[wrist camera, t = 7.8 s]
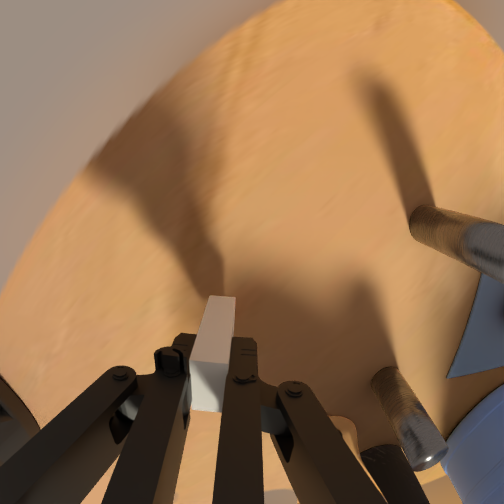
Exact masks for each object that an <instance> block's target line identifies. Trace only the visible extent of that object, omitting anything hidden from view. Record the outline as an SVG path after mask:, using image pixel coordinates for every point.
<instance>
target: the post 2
mask: <svg viewBox="0 0 504 504" xmlns="http://www.w3.org/2000/svg"><path fill="white" fill-rule="evenodd" d="M410 232H411V234H412V236H413V238H414V239H415V240H416V241H418V242H420V243H422V244H424V245H427V246H429V247H431V248H433V249H435V250H437V251H439V252H441V253H443V254H445V255H447V256H450V257H452V258H454V259H456V260H458V261H460V262H462V263H464V264H466V265H468V266H470V267H471V268H473V269H475V270H477V271H479V272H481V273H483V274H485V275H487V276H489V277H491V278H492V279H494V280H496V281H498V282H500V283H502V284H504V225H502V224H498V223H495V222H492V221H488V220H484V219H481V218H477V217H473V216H470V215H466V214H462V213H458V212H454V211H450V210H446V209H442V208H438V207H434V206H429V205H422V206H420V207H418V208H417V209H416V210H415V211H414V212H413V214H412V216H411V219H410Z"/></svg>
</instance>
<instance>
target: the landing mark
mask: <svg viewBox="0 0 504 504" xmlns="http://www.w3.org/2000/svg"><path fill="white" fill-rule="evenodd" d="M502 366H504V284H502V283H500V282H498V281H496V280H494V279H492V278H491V277H489V276H487V275H485V274H483V273H481V277H480V281H479V285H478V289H477V293H476V297H475V300H474V303H473V307H472V310H471V313H470V317H469V320H468V323H467V326H466V329H465V332H464V334H463V337H462V340H461V343H460V345H459V348H458V351H457V353H456V356H455V358H454V361H453V363H452V366H451V368H450V370H449V373H448V375H447V377H446V378H447V379H448V378H454V377H459V376H464V375H468V374H473V373H477V372H482V371H486V370H490V369H494V368H498V367H502Z"/></svg>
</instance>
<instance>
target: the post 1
mask: <svg viewBox="0 0 504 504" xmlns="http://www.w3.org/2000/svg"><path fill="white" fill-rule="evenodd" d="M371 387H372V389H373V391H374V393H375V395H376V397H377V398H378V400H379V402H380V404H381V406H382V408H383V410H384V412H385V414H386V416H387V418H388V420H389V422H390V424H391V426H392V428H393V430H394V432H395V434H396V436H397V438H398V440H399V442H400V445H401V447H402V449H403V451H404V453H405V455H406V457H407V459H408V461H409V463H410V465H411V468H412V470H413V471H416V472H418V471H423V470H426V469H428V468H430V467H432V466H434V465H435V464H436V463H438V462H439V461H440V460H441V459H443V458H444V456H445V455H446V454H447V452H448V450H449V447H448V445H447V444H446V442H445V440H444V439H443V437H442V435H441V434H440V432H439V431H438V429H437V428H436V426H435V424H434V423H433V421H432V420H431V418H430V417H429V415H428V413H427V412H426V410H425V409H424V407H423V406H422V404H421V403H420V401H419V400H418V398H417V397H416V395H415V394H414V392H413V391H412V389H411V388H410V386H409V385H408V383H407V382H406V380H405V379H404V377H403V376H402V374H401V373H400V371H399V370H398V369H397V368H395V367H387V368H384V369H382V370H380V371H379V372H378V373H377V374H376V375H375V376H374V377H373V379H372V382H371Z"/></svg>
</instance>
